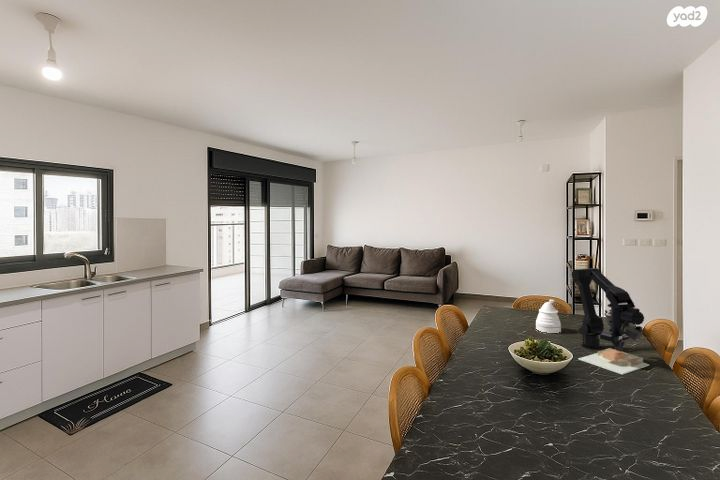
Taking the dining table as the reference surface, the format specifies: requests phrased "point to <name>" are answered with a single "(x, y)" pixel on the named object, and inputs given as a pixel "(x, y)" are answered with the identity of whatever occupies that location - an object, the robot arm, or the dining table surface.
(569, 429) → the dining table surface
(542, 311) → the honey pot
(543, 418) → the dining table surface
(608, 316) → the sundae
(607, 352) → the terracotta tile
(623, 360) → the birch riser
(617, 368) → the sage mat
